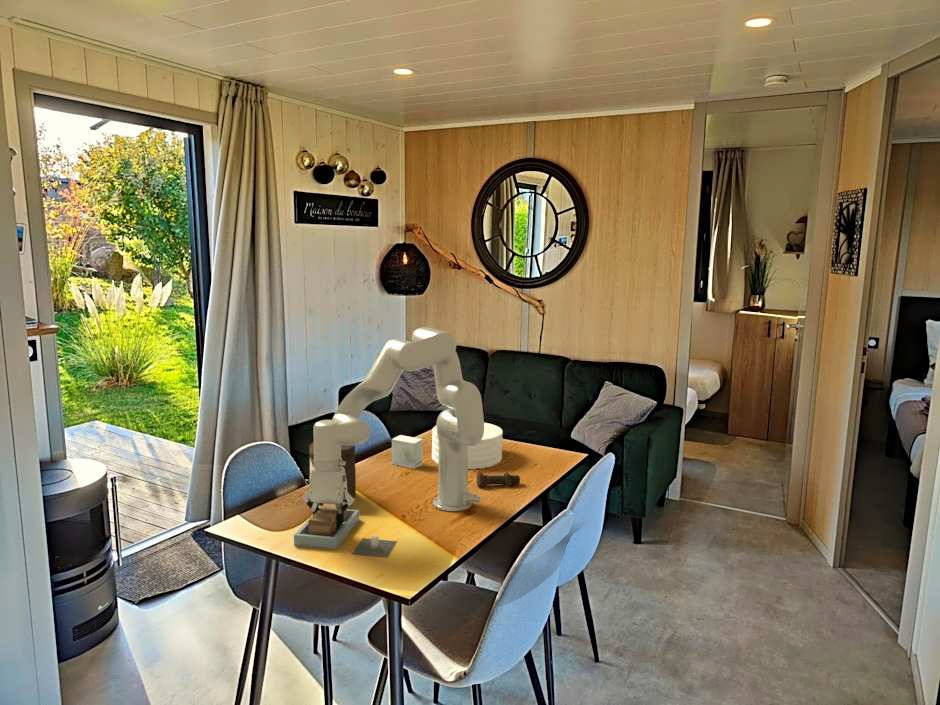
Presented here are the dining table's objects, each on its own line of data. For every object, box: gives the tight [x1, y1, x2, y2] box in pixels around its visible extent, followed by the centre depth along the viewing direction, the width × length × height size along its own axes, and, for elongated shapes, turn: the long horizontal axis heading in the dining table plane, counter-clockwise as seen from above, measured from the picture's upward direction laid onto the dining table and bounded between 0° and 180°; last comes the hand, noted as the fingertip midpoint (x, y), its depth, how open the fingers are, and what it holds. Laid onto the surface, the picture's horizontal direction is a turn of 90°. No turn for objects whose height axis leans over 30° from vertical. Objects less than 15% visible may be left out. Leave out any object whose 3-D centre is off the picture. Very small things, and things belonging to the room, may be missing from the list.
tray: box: [293, 508, 360, 550], centre depth 188 cm, size 12×20×4 cm, turn 171°
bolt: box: [476, 471, 521, 489], centre depth 230 cm, size 6×5×15 cm
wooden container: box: [309, 441, 357, 506], centre depth 215 cm, size 15×15×22 cm
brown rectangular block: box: [308, 502, 348, 537], centre depth 187 cm, size 14×6×5 cm, turn 171°
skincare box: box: [391, 434, 424, 470], centre depth 250 cm, size 10×6×10 cm, turn 63°
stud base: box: [351, 535, 398, 559], centre depth 179 cm, size 10×10×4 cm
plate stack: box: [431, 422, 504, 470], centre depth 260 cm, size 28×28×12 cm
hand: (328, 523), depth 188 cm, fingers closed on brown rectangular block, 6 cm apart
